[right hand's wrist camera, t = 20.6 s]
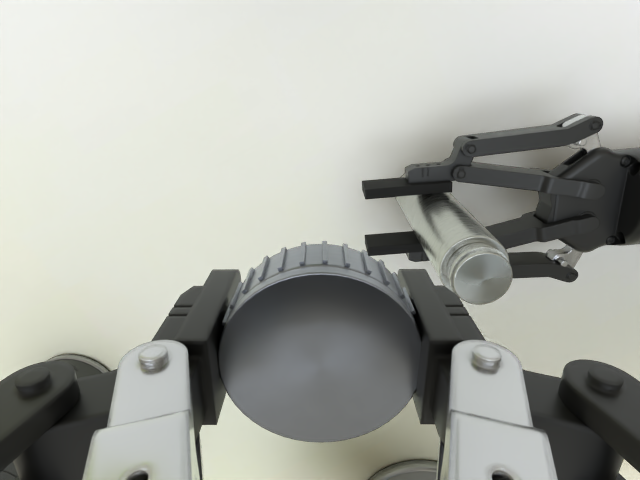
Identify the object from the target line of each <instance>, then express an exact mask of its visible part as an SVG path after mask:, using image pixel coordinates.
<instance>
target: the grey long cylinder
mask: <svg viewBox="0 0 640 480" xmlns="http://www.w3.org/2000/svg"><path fill="white" fill-rule="evenodd" d="M403 177H405V174H404V175H402V176H401V177H400V178H403ZM395 198H396V200H397V202H398V204H399V206H400V207H401V209H402V211H403V213H404V215H405V216H406V218H407V220H408V222H409V224H410V225H411V227H412V229H413V231H414V233H415V235H416V236H417V238H418V240H419V242H420V244H421V245H422V247H423V249H424V251H425V253H426V255H427V256H428V258H429V260H430V262H431V264H432V265H433V267H434V269H435V271H436V273H437V274H438V276H439V278H440V280H441V282H442V284H443V285H444V286H445V287H447V288H448V289H449V290H451V291H452V292H454V293H455V294H457V296H458V297H459V298H461V299H462V300H464V301H466V302H468V303H471V304H487V303H491V302H493V301H495V300H497V299H499V298H500V297H501V296H503V295H504V294H505V293H506V291H507V290H508V288H509V287H510V285H511V282H512V276H513V273H512V268H511V266H510V264H509V256H508V253H507V251H506V249H505V247H504V246H503V245H502V244H501V243H500V242H499V241H498V240H497V239H496V238H495V237H494V236H493V235H492V234H491V233H490V232H489V231H488V230H487V229H486V228H485V227H484V226H483V225H482V224H481V223H480V222H479V221H478V220H477V219H476V218H475V217H474V216H473V215H471V214H470V213H469V212H468V211H467V210H466V209H465V208H464V207H463V206H462V205H461V204H460V203H459V202H458V201H457V200H456V199H455V198H454V197H453V196H452V195H451V194H450V193H449V192H448V193H436V194H423V195H411V196H399V197H395Z"/></svg>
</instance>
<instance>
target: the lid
mask: <svg viewBox="0 0 640 480" xmlns="http://www.w3.org/2000/svg"><path fill="white" fill-rule="evenodd" d="M414 314H416V312H415V310H414V307H413V305H412V302H411V300H410V297H409V295H408V292H407V290H406V288H405V287H403V288H402V287H401V284H400V282H399V279H398V277H397V274H396V273H395V272H394V273H392V274H391V273H390V272H389V270H387V269H386V268H385V265H384V262H383V261H382V260H379V261H376V260H375V259H373V258H371V257H370V256H368V255H367V251H365V250H362V252H359V251H357V250H354V249H350V248H348V245H347V244H344V243H343V246H337V245H328V244H327V241H322V244H313V245H306V242H303V243H301V246H299V247H295V248H291V249H288V250H287V249H286V247H284V248H282V249H281V252H280V253H278V254H276V255H274V256H272V257H270V258H269V257H268V256H266V257H264V259H263V262H262V263H261V264H260V265H259V266H258V267H257V268H255V269H253V268H251V269H250V270H249V272H248V275H247V278H246V279H245V281H244V282H243V283H242V282H239V284H238V286H237V289H236V291H235V294H234V296H233V297H232V299H231V301H230V304H229V306H228V309H227V311H226V314H225V316H224V319H223V321H222V324H221V325H223V326H224V329H223V332H222V335H221V338H220V341H219V348H218V364H219V372H220V376H221V379H222V382H223V385H224V387H225V389H226V391H227V393H228V395H229V397H230V398H231V399H232V401H233V402H234V404H235V405H236V406H237V407H238V408H239V409H240V410H241V411H242V413H243V414H245V415H246V416H247V417H248V418H249V419H251V420H252V421H253V422H255V423H256V424H258V425H259V426H261V427H263V428H265V429H267V430H269V431H271V432H273V433H275V434H278V435H281V436H283V437H287V438H291V439H294V440H300V441H307V442H335V441H342V440H347V439H351V438H355V437H358V436H361V435H364V434H367V433H369V432H371V431H373V430H375V429H377V428H379V427H381V426H382V425H384V424H385V423H387V422H389V421H390V420H391V419H392V418H394V417H395V416H396V415H397V414H398V413H399V412H400V411H401V410H402V409H403V408H404V407H405V406H406V405H407V403H408V402H409V401H410V399H411V398H412V396H413V395H414V393H415V391H416V388H417V379H418V369H419V360H420V351H421V335H420V331H419V329H418V326H417V324H416V321H415V319H414V316H413V315H414Z"/></svg>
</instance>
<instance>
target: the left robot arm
mask: <svg viewBox="0 0 640 480" xmlns="http://www.w3.org/2000/svg"><path fill="white" fill-rule="evenodd" d="M602 126H603V121H602V119H601V118H600V117H596V116H590V115H583V114H573V115H571V116H569V117H567V118H565V119H563V120H560V121H558V122H556V123H554V124H552V125H545V126H537V127H529V128H521V129H513V130H505V131H497V132H488V133H480V134H472V135H464V136H459V137H457V138H456V139H455V140H454V143H453V146H454V148H453V151H452V154H451V156H450V157H449V158H447V159H445V160H444V161H443V162H434V163H423V164H411V165H409V166H407V167H405V177H403V178H391V179H379V180H367V181H362V190H363V193H364V196H365V199H375V198H387V197H399V196H411V195H423V194H436V193H448V192H452V182H451V181H455V180H456V181H458V182H465V183H473V184H482V185H490V186H499V187H507V188H516V189H524V190H533V191H538V193H539V199H540V200H539V203H538V206H537V208H536V211H534V212H530V213H526V214H524V215H522V217H521V218H517V219H514V220H510V221H506V222H502V223H499V224H495V225H491V226H487V227H485V228H486V229H487V230H488V231H489V232H490V233H491V234H492V235H493V236H494V237H495V238H496V239H497V240H498V241H499V242H500V243H501V244H502V245H503V246H504V247H505V249H508V248H512V247H516V246H519V245H523V244H527V243H531V242H535V241H539V242H547V241H551V240H555V239H559V240H560V241H562V242H563V243H565V244H567V245H566V246H565V247H564V248H562V249H554V250H552V249H549V250H548V251H547V253H541V252H517V253H508V256H509V264H510V266H511V268H512V273H513V276H512V278H531V277H551V278H555V279H558V280H561V281H565V282H573V281H575V280H576V279H577V277H578V272H577V271H576V270H575V269H574V267H575V265H576V263H577V262H578V260H579V258H580V257H581V255H582V253H583V252H590V251H592V250H594V249H596V248H598V247H601V246H604V245H634V244H640V148H630V149H618V150H610V149H608V148H606V147H601V145H600V141H599V137H598V133H597V132H599V131H600V130H601V129H602ZM560 146H567V147H570V148H573V149H577V148H580V150H579V151H578V152H577V153H575V154H574V155H572V156H571V157H570V158H568V159H567V160H565V161H564V162H563V163H561V164H560V165H559V166H557V167H556V168H554V169H553V170H545V169H536V168H530V169H528V168H519V167H511V166H503V165H494V164H486V163H478V162H472V160H473V157H477V156H485V155H493V154H502V153H510V152H518V151H527V150H535V149H543V148H551V147H560ZM365 244H366V249H367V253H368V256H375V255H388V254H401V253H406V254H407V257H408V259H409V260H411V261H414V262H419V261H430V260H429V258H428V256H427V255H426V253H425V251H424V249H423V247H422V245H421V244H420V242H419V240H418V238H417V236H416V235H415V233H414V231H409V232H397V233H384V234H371V235H365ZM437 463H438V462H435V461H428V460H414V461H406V462H401V463H397V464H394V465H391V466H389V467H386V468H384V469H382V470H381V471H379V472H378V473H376V474H375V475H374V476H372V477H371V478H370V479H369V480H436V476H437Z"/></svg>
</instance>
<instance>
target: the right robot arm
mask: <svg viewBox="0 0 640 480" xmlns="http://www.w3.org/2000/svg"><path fill="white" fill-rule="evenodd" d="M397 277H398V279H399V282H400V284H401V287H402V288H403V287H405V288H406V290H407V292H408V295H409V297H410V300H411V302H412V305H413V307H414V310H415V312H416V314H414V315H413V316H414V319H415V321H416V324H417V326H418V329H419V331H420V335H421V351H420V360H419V369H418V379H417V388H416V391H415V393H414V395H413V399H414V403H415V406H416V410H417V413H418V417H419V420H420V424H435V425H436V428H437V431H438V434H439V437H440V441H439V449H438V463H437V476H436V480H626V479H625V478H623V477H622V476H621V475H620V474H619V470H620V467H621V464H622V462H623V459H625V460H626V461H627V462H628V463H630V464H631V465H632V466H633V467H634V468H635V469H636V470H637V471H638V472H640V382H639V381H638V380H637V379H635V378H634V377H632V376H631V375H629V374H628V373H626V372H624V371H622V370H620V369H618V368H616V367H614V366H611V365H608V364H605V363H602V362H598V361H593V360H575V361H571V362H569V363H568V364H567V365H566V366H565V367H564V370H563V374H562V378H558V377H553V376H548V375H544V374H539V373H534V372H530V371H526V370H523V369H522V366H521V363H520V361H519V359H518V358H517V357H516V356H515V355H514V354H513V353H512V352H511V351H509V350H508V349H506V348H504V347H503V346H500V345H498V344H495V343H492V342H488V341H486V340H485V339H484V337H483V336H482V334H481V332H480V331H479V329H478V328H477V326H476V324H475V323H474V321H473V320H472V318H471V316H469V313H468V312H467V310H466V308H465V307H463V304H462V302H461V300H460V299H459V297H458V296H457V294H455V293H454V292H452V291H451V290H449V289H448V288H447V287H445V286H434V284H433V282H432V281H431V279H430V277H429V275H428V273H427V271H426V270H425V269H399V271H398V275H397ZM239 282H241V276H240V272H239V270H212V271H211V273H210V275H209V277H208V278H207V280H206V282H205V284H204V286H193V287H192V288H190V289H189V290H187V291H186V292H184V293H183V294H182V295H180V297H179V299H178V300H177V302H176V303H175V305H174V308H172V310H171V311H170V313H169V316H167V317H166V319H165V321H164V322H163V324H162V325H161V327H160V328H159V330H158V332H157V333H156V335H155V336H154V338H153V339H152V341H151V342H148V343H145V344H142V345H140V346H137V347H136V348H134V349H132V350H131V351H129V352H128V353H127V354H126V355H125V356H124V357H123V358H122V359H121V361H120V363H119V366H118V369H116V370H113V371H110V372H109V371H108V370H107V369H106V368H105V367H104V366H102V365H101V364H99V363H98V362H96V361H94V360H92V359H90V358H87V357H84V356H79V355H60V356H56V357H53V358H51V359H49V360H48V361H46V362H41V363H37V364H33V365H30V366H28V367H25V368H23V369H20V370H18V371H16V372H14V373H13V374H11V375H9V376H8V377H6V378H5V379H3V380H2V381H1V382H0V480H204V476H203V463H202V449H201V441H200V434H199V432H200V429H201V426H202V425H217V422H218V418H219V415H220V412H221V408H222V405H223V401H224V398H225V395H226V389H225V387H224V385H223V382H222V379H221V376H220V372H219V364H218V348H219V341H220V338H221V335H222V332H223V329H224V326H223V325H221V324H222V321H223V319H224V316H225V314H226V311H227V309H228V306H229V304H230V301H231V299H232V297H233V296H234V294H235V291H236V289H237V286H238V284H239Z"/></svg>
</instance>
